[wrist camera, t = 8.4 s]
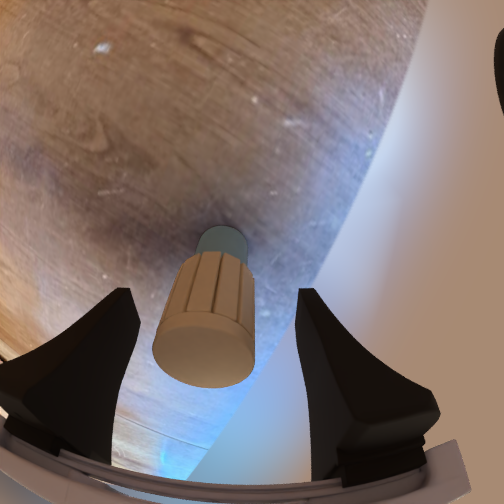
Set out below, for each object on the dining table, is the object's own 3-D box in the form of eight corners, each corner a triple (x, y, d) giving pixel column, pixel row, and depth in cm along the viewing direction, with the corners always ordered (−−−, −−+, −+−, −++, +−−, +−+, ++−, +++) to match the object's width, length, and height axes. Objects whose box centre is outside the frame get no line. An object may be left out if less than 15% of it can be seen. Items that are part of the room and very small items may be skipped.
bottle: (257, 255, 16) (258, 323, 12) (216, 275, 17) (204, 344, 12) (230, 216, 15) (220, 275, 10) (188, 240, 16) (164, 303, 11)
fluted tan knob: (268, 295, 13) (273, 373, 9) (207, 322, 14) (195, 396, 10) (226, 236, 12) (213, 309, 8) (162, 272, 13) (131, 344, 9)
